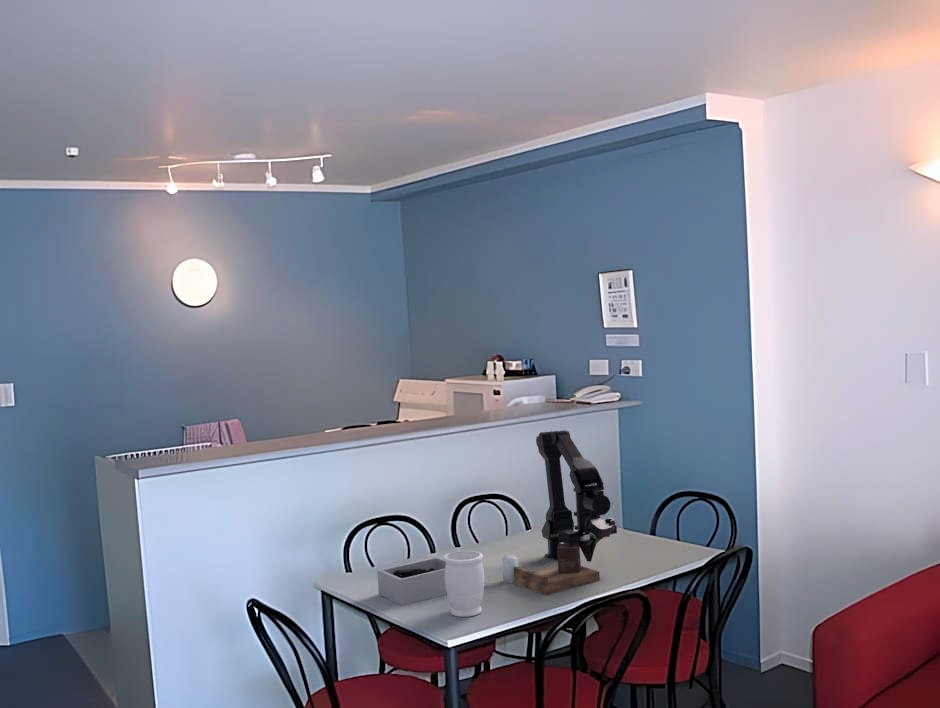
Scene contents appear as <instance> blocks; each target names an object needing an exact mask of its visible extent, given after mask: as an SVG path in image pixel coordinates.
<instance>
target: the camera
mask: <svg viewBox="0 0 940 708" xmlns="http://www.w3.org/2000/svg"><path fill="white" fill-rule="evenodd" d="M436 570H439V569H435V570H434V568H430V569H429V570H426V569H421V568H420V569H407V570H397V571H395V572H394V573H393V575H394V576H397V577H399V578H406V577H410V576H415V575H419V574H423V573H428V572H432V571H436Z"/></svg>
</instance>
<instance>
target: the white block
mask: <svg viewBox="0 0 940 708" xmlns="http://www.w3.org/2000/svg"><path fill="white" fill-rule="evenodd" d="M501 561H502V563H501V564H502V579H503V580H502V581H503V583H504V584H514V567H516V566H517V567H519V565H518V561H519V560H518V556H517V555H512V554H511V555H510V554H508V555H503V556H502V559H501Z"/></svg>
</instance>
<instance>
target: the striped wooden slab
mask: <svg viewBox="0 0 940 708" xmlns="http://www.w3.org/2000/svg"><path fill="white" fill-rule="evenodd" d="M600 576H601V575H600V571H598V570H595V569H592V568H589V567H586V566H582V565H581V568H580V571H579V572H578V573H574V572H573V573H572V572H571V573H559V572H558V564H554V565H551V566H547V567H543V568H542V567H541V568H537V569H535V570H530V569H526V568H524V567H523V568H522V567H520V566H518V567H517V566H516V567H514V583H513V584H514V585H516V586H518V587H521V588H524V589H527V590H529V591H532V592H535V593H539V594H541V595H544V596H547V595H551V594H554V593H559V592H563V591H566V590H569V589H573V588H577V587H580V585H581V586H583V585H588V584H591V583H594V582H599V581H600V579H601V578H600Z"/></svg>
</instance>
